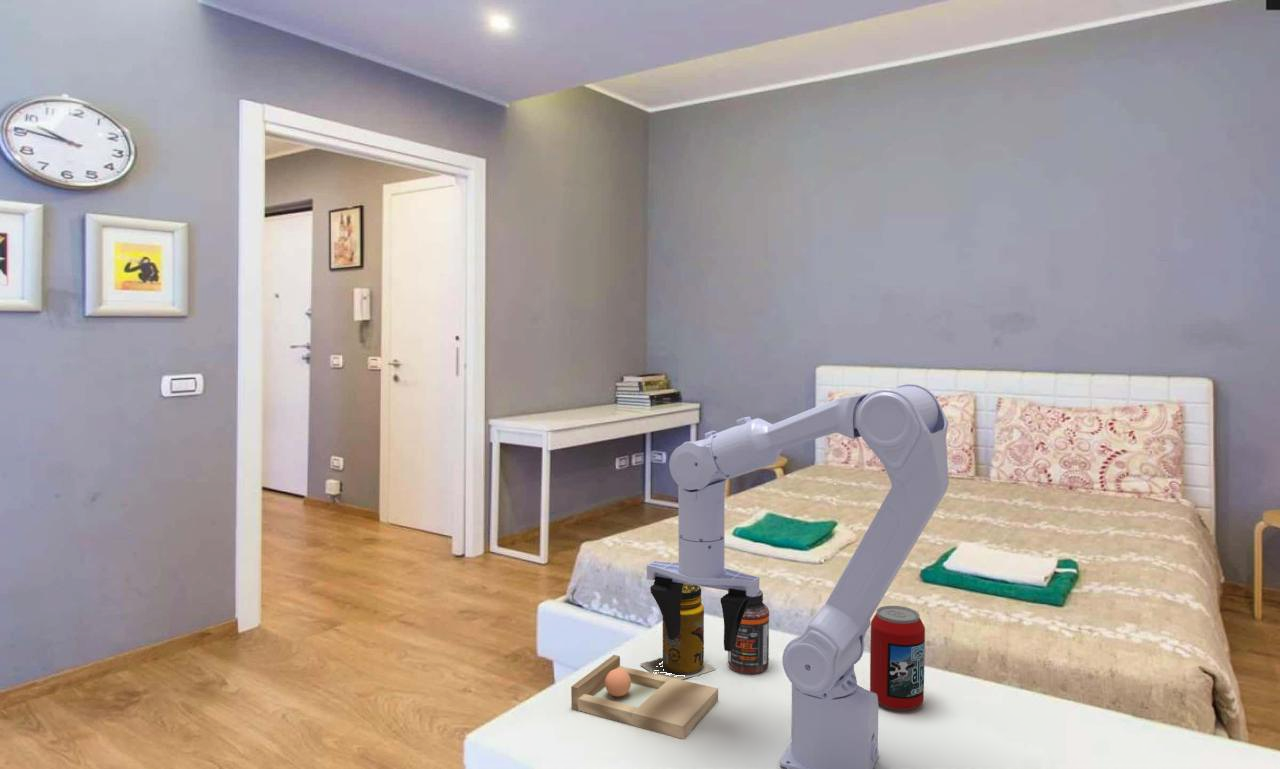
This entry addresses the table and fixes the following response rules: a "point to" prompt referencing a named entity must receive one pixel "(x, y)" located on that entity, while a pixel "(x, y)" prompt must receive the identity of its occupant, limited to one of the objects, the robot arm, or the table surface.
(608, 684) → the ball
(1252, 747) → the table surface
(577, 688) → the board
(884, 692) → the beverage can
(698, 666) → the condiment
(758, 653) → the supplement bottle
